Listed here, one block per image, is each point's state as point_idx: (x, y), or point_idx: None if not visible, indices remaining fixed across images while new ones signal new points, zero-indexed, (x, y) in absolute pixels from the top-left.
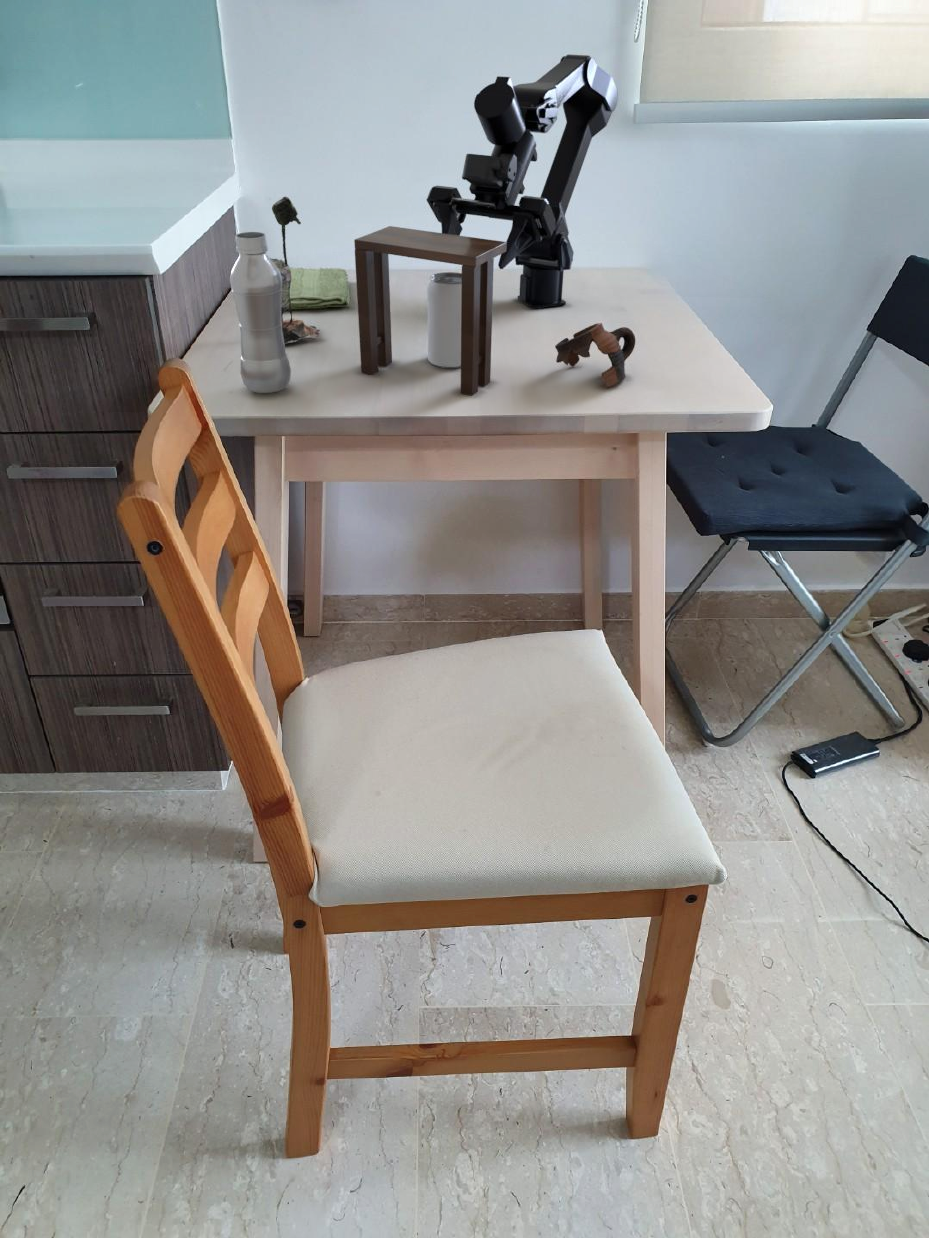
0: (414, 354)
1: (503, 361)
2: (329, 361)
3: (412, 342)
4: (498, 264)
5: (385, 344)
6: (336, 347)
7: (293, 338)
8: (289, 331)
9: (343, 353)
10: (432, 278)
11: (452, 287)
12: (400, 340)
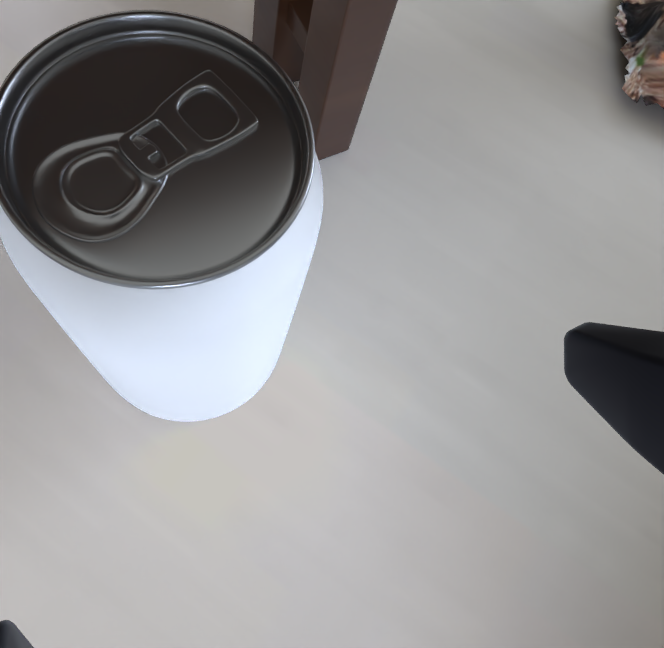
0: (344, 275)
1: (40, 533)
2: (436, 35)
3: (465, 347)
4: (3, 622)
5: (300, 76)
6: (544, 116)
7: (638, 29)
8: (662, 9)
9: (481, 102)
10: (277, 87)
11: (31, 83)
12: (508, 323)
